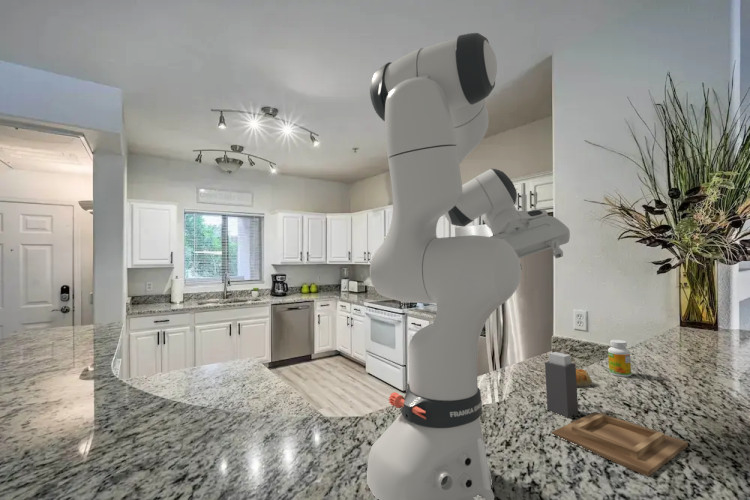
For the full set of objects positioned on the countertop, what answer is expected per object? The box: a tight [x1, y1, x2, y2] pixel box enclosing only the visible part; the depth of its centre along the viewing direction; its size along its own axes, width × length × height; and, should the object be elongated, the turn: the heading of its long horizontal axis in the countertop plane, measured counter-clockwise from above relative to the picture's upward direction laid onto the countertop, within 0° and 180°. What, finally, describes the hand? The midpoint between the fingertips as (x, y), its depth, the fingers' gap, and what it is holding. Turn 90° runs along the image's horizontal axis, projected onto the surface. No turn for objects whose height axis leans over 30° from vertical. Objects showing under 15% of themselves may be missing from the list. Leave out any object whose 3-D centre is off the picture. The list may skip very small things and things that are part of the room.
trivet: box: [551, 411, 689, 477], centre depth 66 cm, size 16×16×2 cm
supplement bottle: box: [607, 339, 632, 378], centre depth 104 cm, size 5×5×10 cm
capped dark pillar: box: [544, 351, 579, 418], centre depth 80 cm, size 4×5×13 cm
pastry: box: [576, 368, 593, 388], centre depth 98 cm, size 9×7×4 cm
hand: (539, 262), depth 79 cm, fingers open, 8 cm apart
